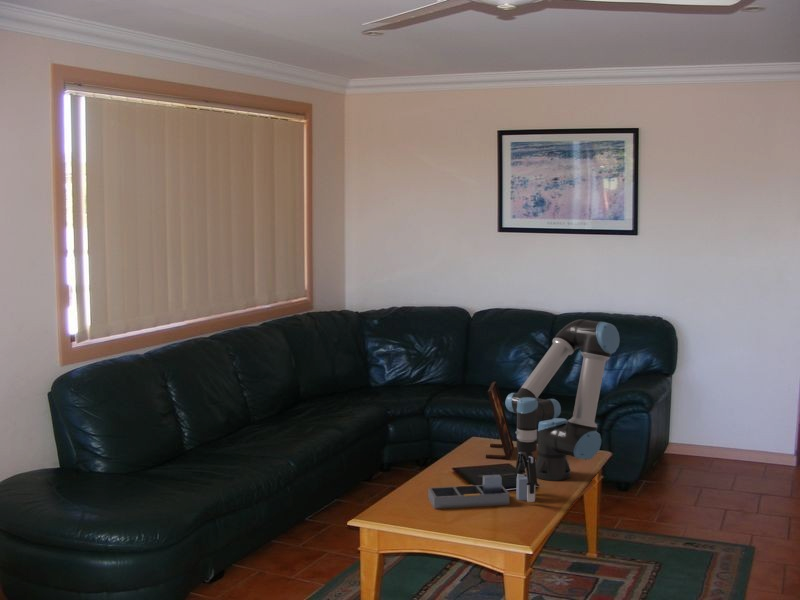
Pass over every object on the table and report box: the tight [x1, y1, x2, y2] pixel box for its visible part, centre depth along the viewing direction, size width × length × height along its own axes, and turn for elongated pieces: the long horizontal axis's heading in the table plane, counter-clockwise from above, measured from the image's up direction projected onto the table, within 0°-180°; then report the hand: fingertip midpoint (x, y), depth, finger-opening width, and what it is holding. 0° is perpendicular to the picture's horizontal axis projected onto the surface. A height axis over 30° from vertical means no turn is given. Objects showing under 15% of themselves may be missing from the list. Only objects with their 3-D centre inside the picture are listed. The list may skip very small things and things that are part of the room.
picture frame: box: [485, 381, 515, 461], centre depth 399 cm, size 21×11×30 cm, turn 168°
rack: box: [427, 474, 510, 510], centre depth 335 cm, size 28×11×9 cm, turn 99°
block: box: [515, 476, 537, 501], centre depth 339 cm, size 6×3×8 cm, turn 99°
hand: (525, 496), depth 339 cm, fingers open, 12 cm apart
